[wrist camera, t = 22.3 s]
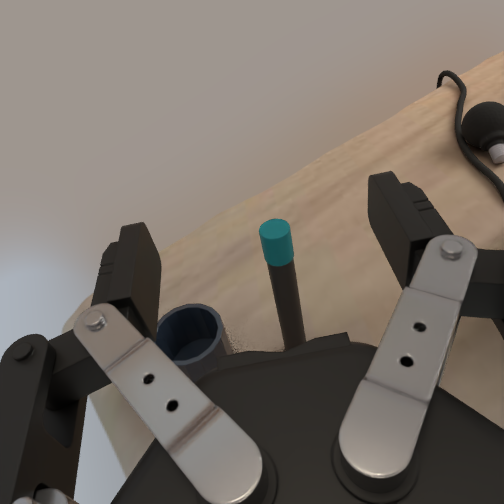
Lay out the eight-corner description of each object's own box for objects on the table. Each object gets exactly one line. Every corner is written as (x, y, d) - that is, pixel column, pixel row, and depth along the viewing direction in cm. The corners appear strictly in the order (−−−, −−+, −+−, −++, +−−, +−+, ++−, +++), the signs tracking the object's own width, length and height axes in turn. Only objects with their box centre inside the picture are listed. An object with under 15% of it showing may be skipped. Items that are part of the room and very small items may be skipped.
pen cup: (194, 330, 48) (178, 295, 44) (247, 350, 44) (235, 315, 40) (156, 382, 44) (135, 349, 39) (211, 408, 40) (195, 376, 36)
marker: (290, 336, 45) (267, 215, 34) (311, 343, 44) (295, 221, 32) (280, 354, 43) (253, 235, 32) (302, 362, 42) (281, 241, 31)
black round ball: (495, 147, 55) (469, 92, 59) (469, 177, 61) (447, 124, 65) (540, 145, 56) (511, 91, 60) (510, 175, 62) (485, 123, 66)
